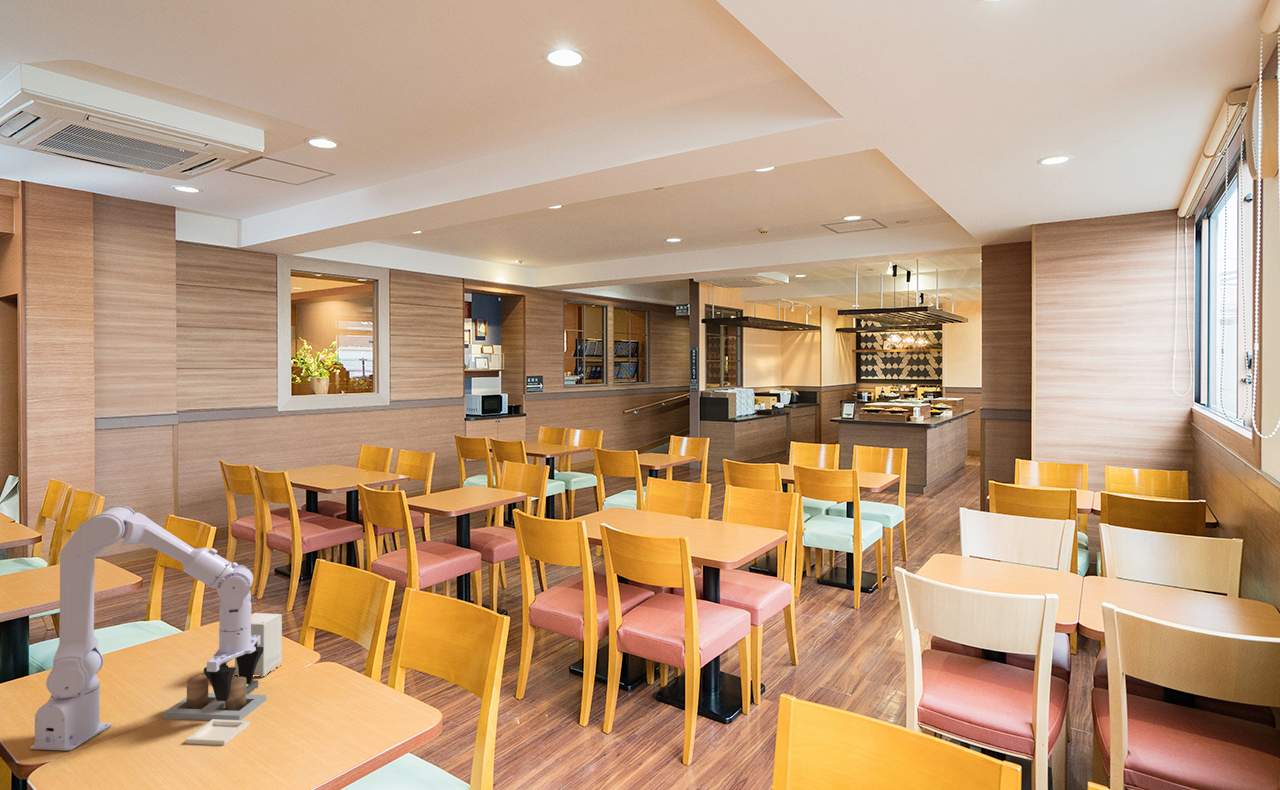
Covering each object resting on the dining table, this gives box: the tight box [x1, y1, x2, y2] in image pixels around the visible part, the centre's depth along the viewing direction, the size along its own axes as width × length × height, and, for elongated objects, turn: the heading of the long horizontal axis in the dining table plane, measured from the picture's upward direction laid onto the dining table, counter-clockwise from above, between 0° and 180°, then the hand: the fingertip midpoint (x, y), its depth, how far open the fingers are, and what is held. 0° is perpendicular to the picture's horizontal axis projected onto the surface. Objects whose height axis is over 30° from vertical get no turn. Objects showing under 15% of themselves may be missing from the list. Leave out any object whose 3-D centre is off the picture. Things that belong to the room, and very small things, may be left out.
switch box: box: [246, 679, 259, 694], centre depth 149 cm, size 5×5×2 cm
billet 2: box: [224, 676, 247, 711], centre depth 141 cm, size 4×4×6 cm
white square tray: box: [184, 719, 251, 746], centre depth 131 cm, size 8×8×1 cm
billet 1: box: [186, 674, 209, 709], centre depth 141 cm, size 4×4×6 cm
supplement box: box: [234, 612, 283, 676], centre depth 160 cm, size 7×7×13 cm
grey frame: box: [162, 692, 267, 721], centre depth 141 cm, size 9×16×2 cm, turn 88°
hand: (234, 691), depth 141 cm, fingers open, 7 cm apart
